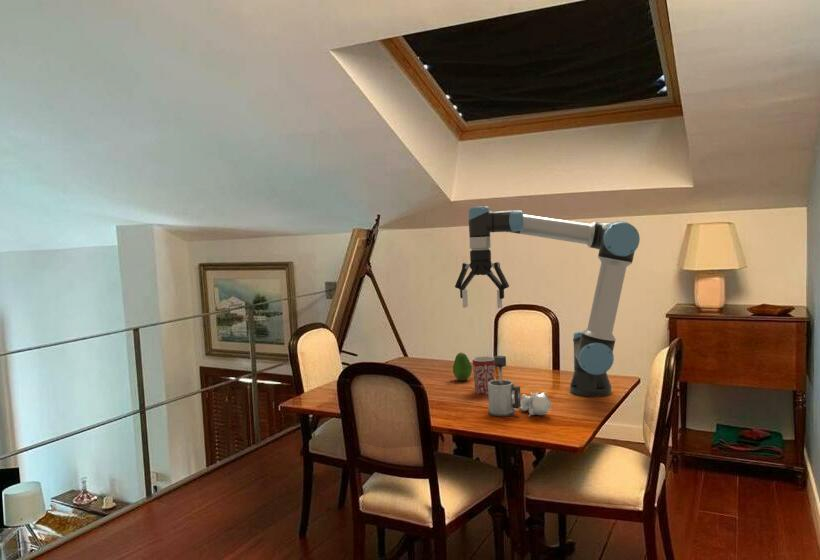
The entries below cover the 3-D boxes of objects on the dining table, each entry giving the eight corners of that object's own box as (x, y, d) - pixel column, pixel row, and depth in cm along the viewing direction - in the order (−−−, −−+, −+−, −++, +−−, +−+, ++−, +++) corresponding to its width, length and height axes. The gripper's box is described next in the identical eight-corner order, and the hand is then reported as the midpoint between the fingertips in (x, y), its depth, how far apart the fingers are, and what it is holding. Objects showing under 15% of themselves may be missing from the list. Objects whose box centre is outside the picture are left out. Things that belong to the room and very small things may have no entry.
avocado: (452, 382, 258) (451, 354, 257) (454, 378, 265) (453, 350, 264) (471, 382, 256) (470, 354, 255) (472, 378, 264) (471, 350, 263)
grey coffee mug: (524, 411, 212) (523, 381, 211) (514, 418, 204) (513, 387, 203) (494, 408, 217) (493, 378, 217) (484, 415, 209) (483, 384, 209)
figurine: (524, 384, 218) (545, 385, 203) (539, 397, 219) (561, 399, 204) (507, 408, 214) (528, 410, 200) (523, 421, 215) (544, 425, 201)
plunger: (512, 405, 212) (510, 355, 211) (506, 409, 207) (504, 358, 206) (497, 403, 215) (495, 354, 214) (490, 408, 210) (489, 357, 209)
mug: (499, 394, 235) (498, 359, 234) (475, 396, 234) (474, 361, 233) (491, 386, 248) (490, 353, 247) (469, 388, 247) (468, 355, 246)
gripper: (516, 248, 220) (518, 306, 222) (453, 249, 233) (455, 305, 234) (509, 248, 214) (511, 309, 215) (444, 250, 226) (447, 308, 228)
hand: (482, 307), depth 225 cm, fingers open, 13 cm apart
